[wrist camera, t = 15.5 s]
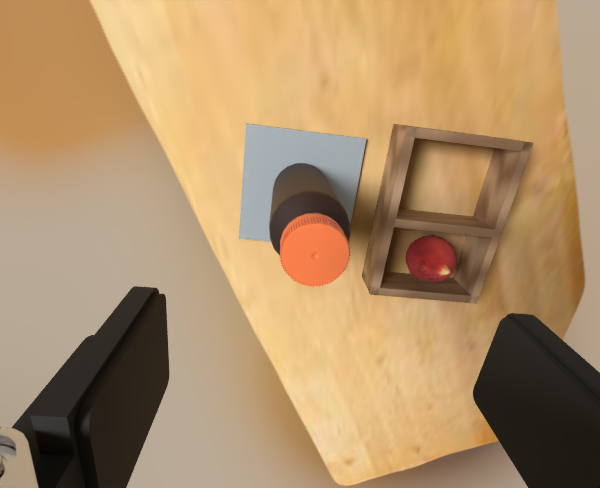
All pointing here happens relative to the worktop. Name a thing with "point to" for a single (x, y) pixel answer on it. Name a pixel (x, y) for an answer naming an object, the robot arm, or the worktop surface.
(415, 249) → the onion
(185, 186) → the worktop surface
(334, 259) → the vinegar
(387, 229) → the rack
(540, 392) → the robot arm
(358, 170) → the mat
